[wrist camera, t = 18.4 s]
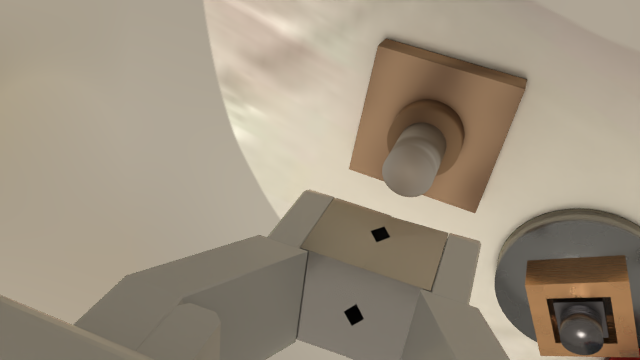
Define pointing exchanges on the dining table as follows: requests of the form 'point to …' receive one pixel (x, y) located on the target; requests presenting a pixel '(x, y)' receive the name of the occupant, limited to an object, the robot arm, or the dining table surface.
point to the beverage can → (626, 359)
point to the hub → (568, 242)
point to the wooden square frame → (582, 282)
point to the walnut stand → (434, 124)
